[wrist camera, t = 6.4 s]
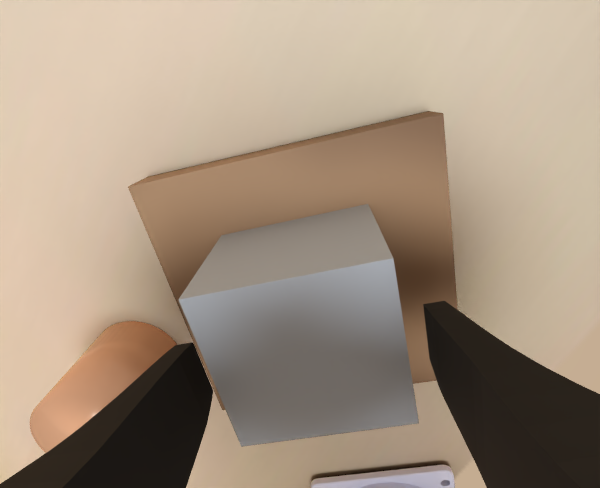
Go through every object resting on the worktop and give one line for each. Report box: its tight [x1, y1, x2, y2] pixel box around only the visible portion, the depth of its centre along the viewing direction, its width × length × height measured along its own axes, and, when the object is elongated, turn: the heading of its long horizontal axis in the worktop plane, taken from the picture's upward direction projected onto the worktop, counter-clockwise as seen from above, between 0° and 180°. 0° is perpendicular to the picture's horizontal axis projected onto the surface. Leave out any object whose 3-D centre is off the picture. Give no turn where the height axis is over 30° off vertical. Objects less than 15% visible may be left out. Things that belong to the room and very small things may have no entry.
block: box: [178, 204, 419, 446], centre depth 12 cm, size 6×6×4 cm
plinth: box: [128, 111, 457, 410], centre depth 15 cm, size 11×11×2 cm
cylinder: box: [30, 321, 177, 453], centre depth 16 cm, size 4×4×4 cm
